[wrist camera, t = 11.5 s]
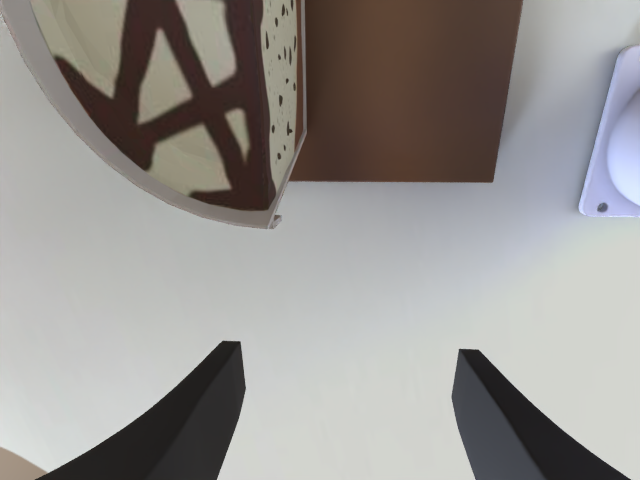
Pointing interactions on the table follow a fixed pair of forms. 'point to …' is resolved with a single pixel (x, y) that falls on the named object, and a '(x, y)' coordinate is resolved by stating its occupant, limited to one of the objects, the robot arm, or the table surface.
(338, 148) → the walnut board
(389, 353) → the table surface
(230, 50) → the food container
